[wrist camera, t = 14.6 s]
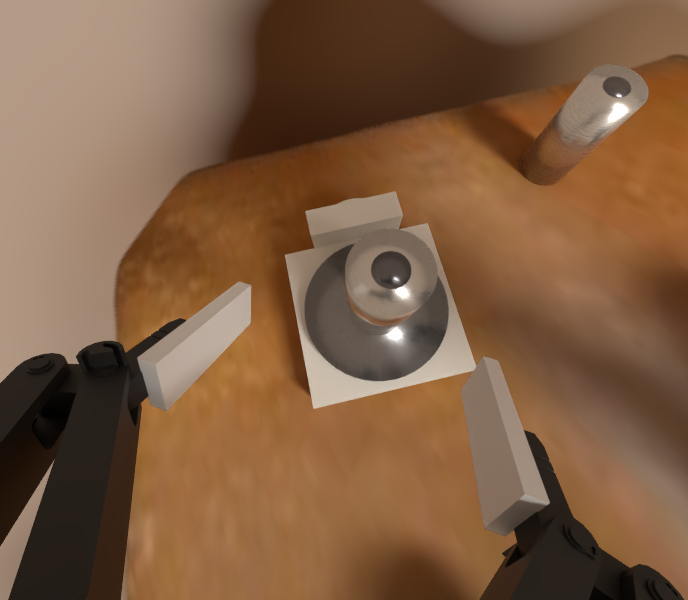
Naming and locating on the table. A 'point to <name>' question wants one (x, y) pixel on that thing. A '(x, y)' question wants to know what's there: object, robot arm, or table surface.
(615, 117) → the cylinder
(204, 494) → the table surface
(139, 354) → the robot arm
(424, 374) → the scale
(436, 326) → the scale pan
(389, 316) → the silver metal cylinder
